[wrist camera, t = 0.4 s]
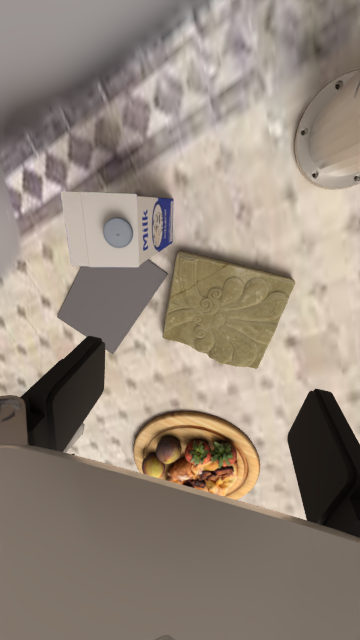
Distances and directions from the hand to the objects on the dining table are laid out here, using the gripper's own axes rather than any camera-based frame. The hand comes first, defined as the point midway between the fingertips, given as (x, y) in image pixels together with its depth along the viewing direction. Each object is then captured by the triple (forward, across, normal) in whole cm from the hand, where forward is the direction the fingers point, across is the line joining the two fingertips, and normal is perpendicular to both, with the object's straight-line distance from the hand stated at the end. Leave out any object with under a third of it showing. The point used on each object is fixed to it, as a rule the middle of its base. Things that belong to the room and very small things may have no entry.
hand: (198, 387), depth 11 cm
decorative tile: (+35, -2, +11) cm, 37 cm away
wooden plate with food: (+35, -5, +52) cm, 63 cm away
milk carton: (+35, +12, -3) cm, 37 cm away
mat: (+34, +20, +12) cm, 41 cm away
